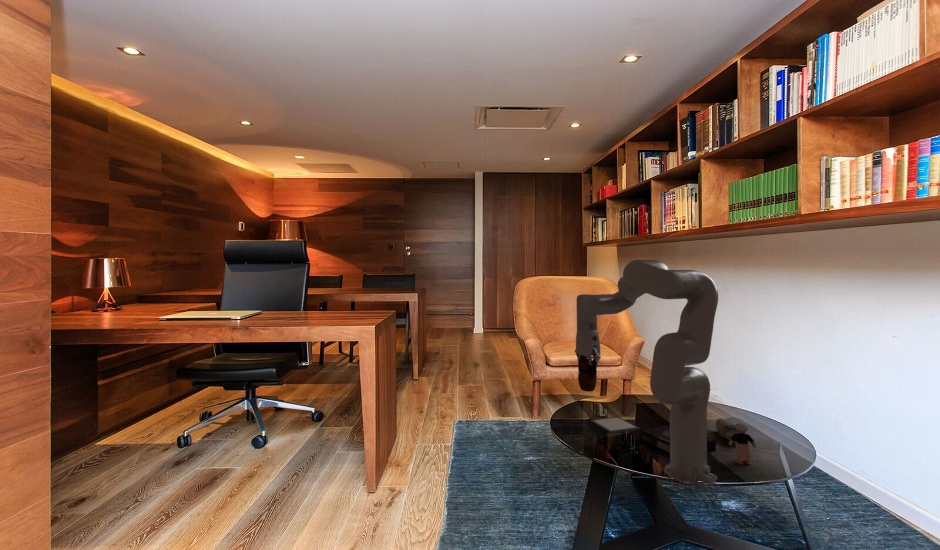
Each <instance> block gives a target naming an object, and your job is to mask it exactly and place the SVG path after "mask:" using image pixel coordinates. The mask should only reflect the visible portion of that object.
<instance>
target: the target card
mask: <svg viewBox="0 0 940 550" xmlns="http://www.w3.org/2000/svg"><path fill="white" fill-rule="evenodd" d="M589 421H590V423H592V424H593V425H595V426H597V427H599V428H601V429H602V430H604V431H605V432H607V433H610V434H613V433H620V432H629V431H636V430H641V429H640V427H639V426H638V425H635V424H633V423H631V422H629V421H627V420H625V419H623V418H620V417H619V416H614V417H606V418H598V419H597V418H596V419H591V420H589Z"/></svg>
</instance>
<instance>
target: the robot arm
mask: <svg viewBox="0 0 940 550" xmlns="http://www.w3.org/2000/svg"><path fill="white" fill-rule="evenodd" d="M622 271H623V272H622V277H620V278H619V279H618V281H617V289H618V290H617V292H615V293H607V294H606V293H605V294H601V293H600V294H589V293H587V294H585V293H584V294H578V295H577V296H576V335H575V349H574V353H575V355H576V358H577V359H576V360H577V362H578V363H577V364H578V365H577V366H578V371H577V372H578V373H579V372H580V371H582V369H581V367H580V365H581V362H582V356H584V358H585V357H587V359H588V360H589V364H590V365H588V369H589V376H597V375H598V374H597V372H598V370H597V366H598V363H599V362H600V360H601V358H602V357H601V342H600V335H599V331H598V316H604V315H605V316H606V315H616V314H619V313H622V312H624V311H626V310H628V309H629V308H631V307H633V306H634V304H635V303H636V301H637V299H638V298H640V297H642V296H643V295H645V294H648V295H650V296H653V297H654V298H658V299H660V300H661V299H662V300H683V299H685V300H687V302H686V304H685V306H684V307H683V308H682V311H681V312H680V316H679V325H678V329H677V331H676V332H668V333H666V334H663V335H661V336H660V337H659V339H657V340H656V343H655V345H654V349H653V355H652V361H651V371H650V379H649V386H650V392H651V393H652V396H653V397H654V399H655V400H656V401H657V402H659V403H661V404H663V405H666V406H667V405H668V406H670V410H669V411H670V412H669V425H670V455H669V458H670V459H669V460H670V461H669V462H670V463H668V464H666V465H665V466H664V474H665V473H666V474H667V475H668V476H669V477H671V478H673V479H674V480H673V481H675V482H677V481H681V482H689V483H681V482H678V483H679V484H683V485H686V486H692V487H707V486H714V484H715V483H716V481H717V480H718V476H717V475H716V474H713V473H711V466H710V465H708V453H707V437H708V432H707V431H708V430H707V428H708V420H707V419H708V404H709V400H710V393H711V383H710V380H709V377H708V376H707V374H706V373H705V372H704V371H703V370H701V369H700V368H698V367H695V365H699V364H700V365H701V364H703V363H705V362H706V361H707V360H708V358H709V356H710V354H711V353H710V352H711V347H712V338H713V333H714V325H715V324H714V323H715V317H716V312H717V307H718V304H719V291H718V287H717V284H716V282H715V281H714V280H713V279H712V278H711V277H710V276H709V275H707V274H706V273H704V272H702V271H698V270H693V269H669V267H668V265H666V264H665V262H663V261H661V260H657V259H634V260H631V261H629V262H628V263H627V264H626V265H625V267H624V269H623V270H622ZM666 474H665V475H666ZM667 475H666V476H667ZM668 476H667V477H668ZM669 477H668V478H669ZM671 478H670V479H671ZM698 481H705V482H698ZM704 483H708V484H704Z"/></svg>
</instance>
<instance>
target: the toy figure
mask: <svg viewBox="0 0 940 550" xmlns="http://www.w3.org/2000/svg"><path fill="white" fill-rule="evenodd" d="M734 425H735V427H736V429H737V431H738V432H739V434H734V435H733V436H732V437H731V438H730V440H729V442H728V446H729V445H730V446H732V443H735V458H736V459H735V460H734V462H735V461H736V462H735V463H737V464H738V463H739V464H738V465H744V464H745V463H746V464H745V465H748V464H749V466H751V465H752V462H751V452H750V445H749V443H750V444H751V446H752V448H756V447H757V445H756V443H755V441H754V438H752V436H751V435H749V434H748V433H747V431H748V430H749V427H748V425H747V423H746V422H744V421H738V422H736V423H735V424H734ZM744 462H745V463H744Z"/></svg>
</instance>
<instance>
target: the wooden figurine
mask: <svg viewBox="0 0 940 550" xmlns="http://www.w3.org/2000/svg"><path fill="white" fill-rule="evenodd" d="M588 365H590V364H589V360H588V357H585V358H584V356H582V362H581V365H580V367H581V369H582V371H580V372H579V371H578V375H577V378H578V379H577V381H578V385H579V388H580V390H581V391H583V392H590V393H591V392H594V391H595V389H596V387H597V382H598V381H597V380H598V379H597V375H596V376H589V369H588Z"/></svg>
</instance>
